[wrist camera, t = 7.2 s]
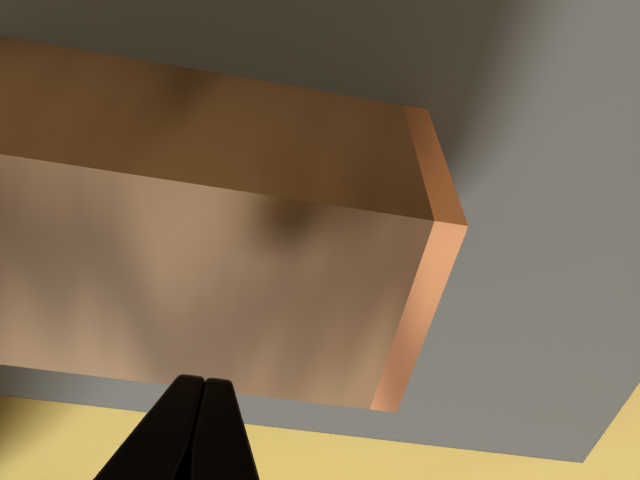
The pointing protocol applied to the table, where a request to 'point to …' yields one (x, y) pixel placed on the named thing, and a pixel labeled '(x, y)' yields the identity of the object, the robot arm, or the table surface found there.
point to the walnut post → (216, 228)
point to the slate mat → (471, 186)
